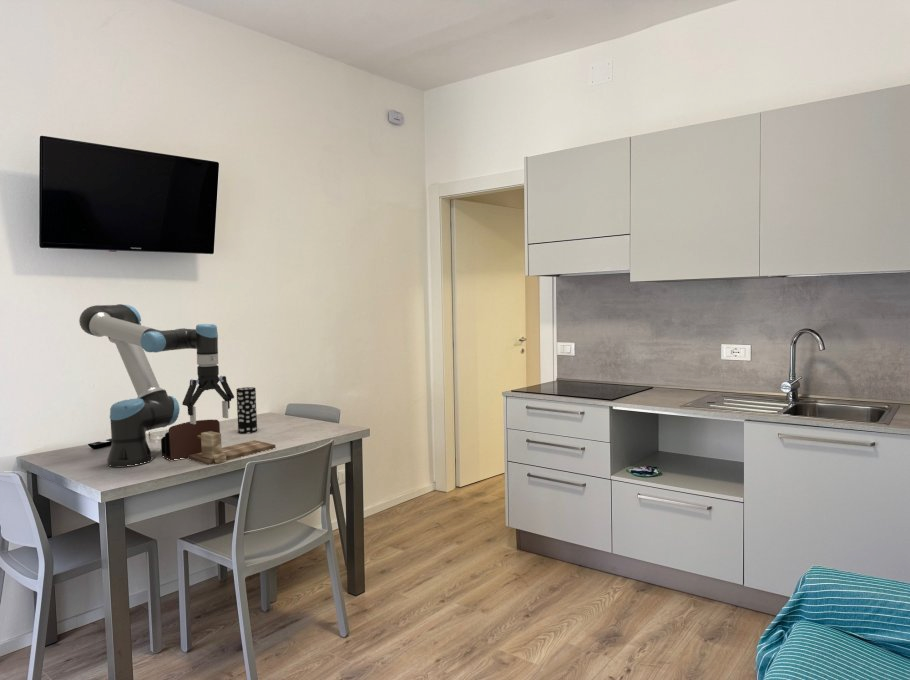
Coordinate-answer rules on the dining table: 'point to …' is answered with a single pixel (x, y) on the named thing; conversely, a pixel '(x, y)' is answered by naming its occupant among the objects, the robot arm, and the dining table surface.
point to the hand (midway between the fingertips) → (209, 420)
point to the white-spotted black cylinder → (246, 410)
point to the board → (236, 451)
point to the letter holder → (186, 438)
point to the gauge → (212, 446)
